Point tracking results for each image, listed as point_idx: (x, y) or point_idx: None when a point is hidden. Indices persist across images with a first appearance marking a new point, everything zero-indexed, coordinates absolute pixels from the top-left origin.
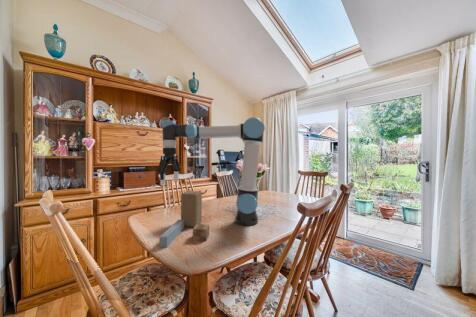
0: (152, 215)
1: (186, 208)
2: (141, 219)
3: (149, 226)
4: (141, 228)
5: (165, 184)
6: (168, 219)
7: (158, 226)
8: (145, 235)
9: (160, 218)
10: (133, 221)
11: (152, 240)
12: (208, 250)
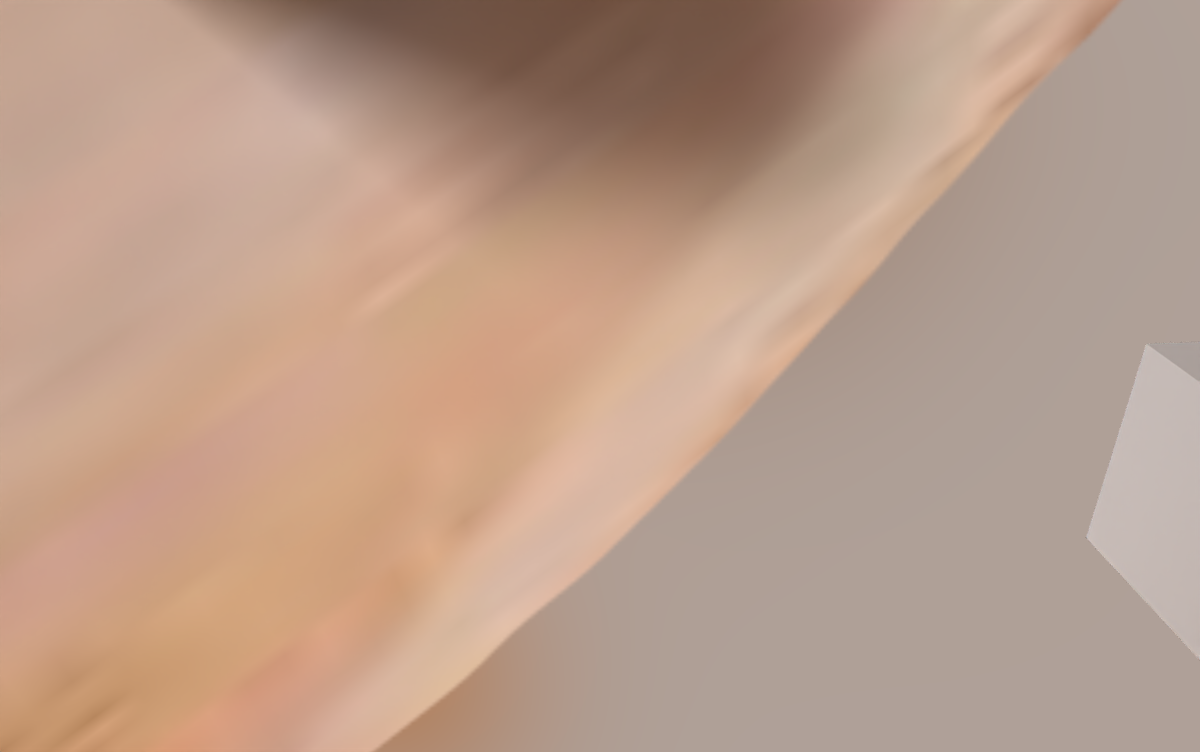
0: (73, 666)
1: None
2: (303, 674)
3: (518, 392)
4: (615, 439)
5: (1173, 364)
6: (119, 317)
7: (478, 268)
8: (829, 222)
9: (138, 470)
10: (413, 703)
11: (974, 11)
12: None
